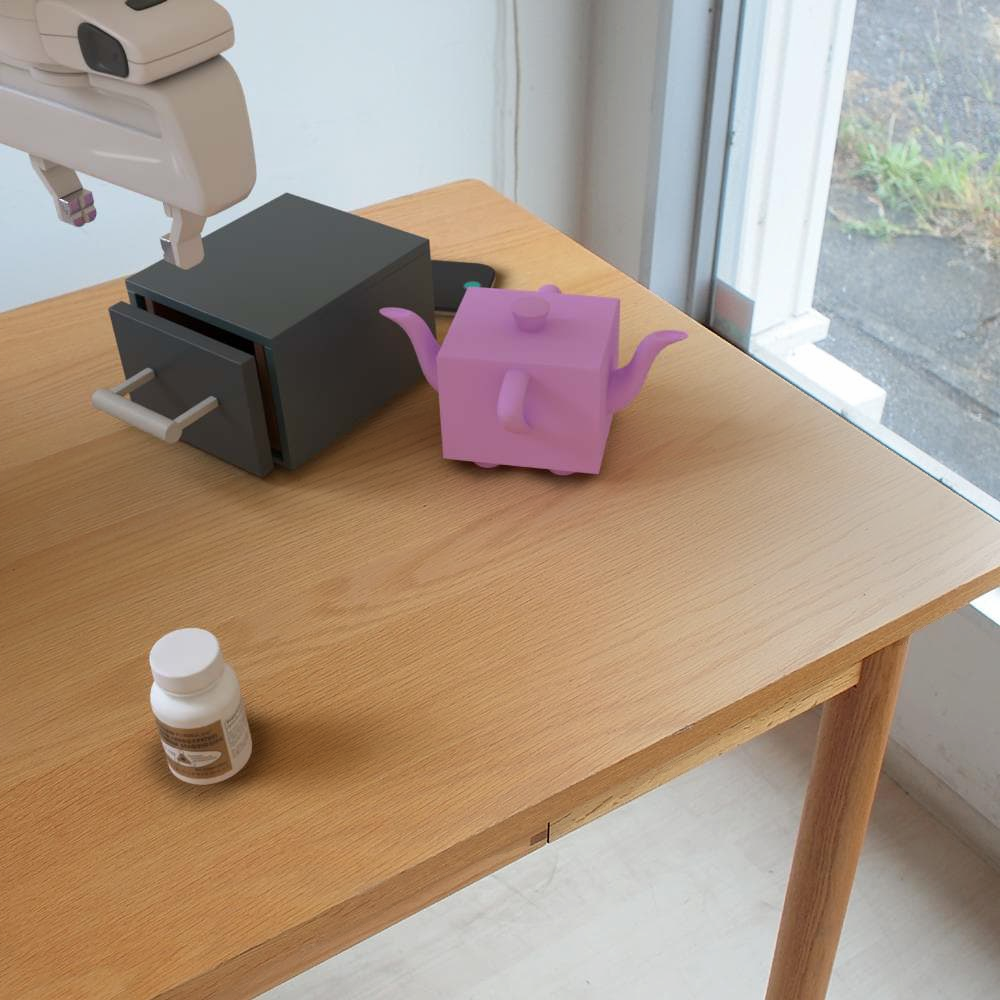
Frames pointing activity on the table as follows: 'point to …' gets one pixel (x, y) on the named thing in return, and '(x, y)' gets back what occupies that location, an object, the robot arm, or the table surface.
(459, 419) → the teapot
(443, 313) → the smartphone
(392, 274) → the cabinet
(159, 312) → the drawer
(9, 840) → the table surface
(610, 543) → the table surface
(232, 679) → the pill bottle
